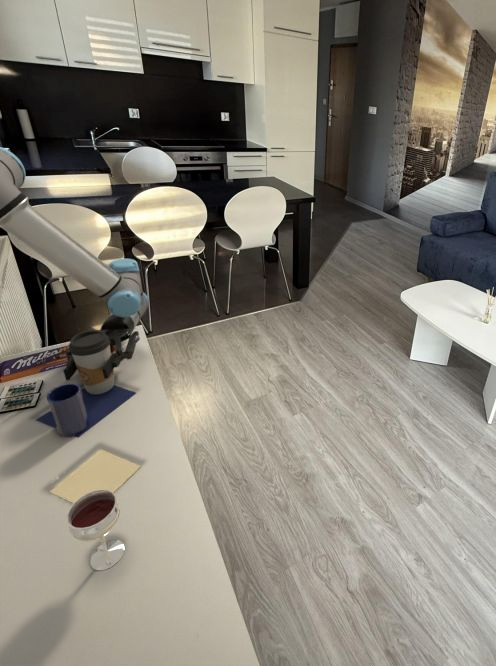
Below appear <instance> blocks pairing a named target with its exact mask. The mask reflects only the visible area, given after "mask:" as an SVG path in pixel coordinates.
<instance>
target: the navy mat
mask: <svg viewBox="0 0 496 666" xmlns="http://www.w3.org/2000/svg"><path fill="white" fill-rule="evenodd" d="M81 390H82V394H83V397H84V400H85V404H86V407H87V411H88V414H89V417H90V425H89V427H88V428H87V429H86V430H85V431H83V432H82V433H80V434H78V435H75V436H74V437H75V438H78V439H79V438H80V437H81V436H82V435H84V434H85V433H87V432H89V430H91V429H93V428H94V427H95V426H96V425H97V424H98V423H100V422H101V421H102V420H103V419H106V417H107V416H109V415H110V414H112V413H113V412H114V411H115V410H117V409H118V408H119V407H120V406H122V405H123V404H125V403H126V402H127V401H128V400H130V399H131V398H132V397H134V396H135V395H136V394H137V392H135V391H133V390H130V389H127V388H124V387H122V386H119V385H116V384H114V386H113V387H112V388H111V389H110V390H109V391H107V392H105V393H102V394H90V393H89V392H87V391H86V389H85V387H83V388H81ZM35 421H36V422H39V423H41V424H44V425H46V426H49V427H51V428H52V429H56V430H57V427H56V424H55V421H54V418H53V415H52V412H51V410H48V411H47V412H45V413H44V414H42V415H41V416H39V417H38V418H36V419H35Z"/></svg>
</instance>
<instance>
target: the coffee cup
mask: <svg viewBox="0 0 496 666" xmlns="http://www.w3.org/2000/svg"><path fill="white" fill-rule="evenodd" d="M109 344H110V340H109V337H108V336H107V335H106V334H105V332H103V331H100V329H89V330H85V331H81V332H79V333H77V334H75V335H73V336H72V337H71V338H70V340H69V345H68V349H70V353H71V354H72V356H73V358H74V361H75V364H76V367H77V370H76V371H77V372H78V375H79V377H80V381H81V382H82V384H83V388H85V389H86V391H87V392H89V393H90V394H102V393H105V392H107V391H109V390H110V389H111V388H112V387H113V386H114V385H115V383H116V380H115V374H114V373H115V370H114V369H113V371H112V372H111V374H110V376H109V377H108V378H104V375H103V371H102V369H103V367H104V366H105V364H106V363H107V361H108V360H109V358H110V356H111V355H112V352H111V345H109Z"/></svg>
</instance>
